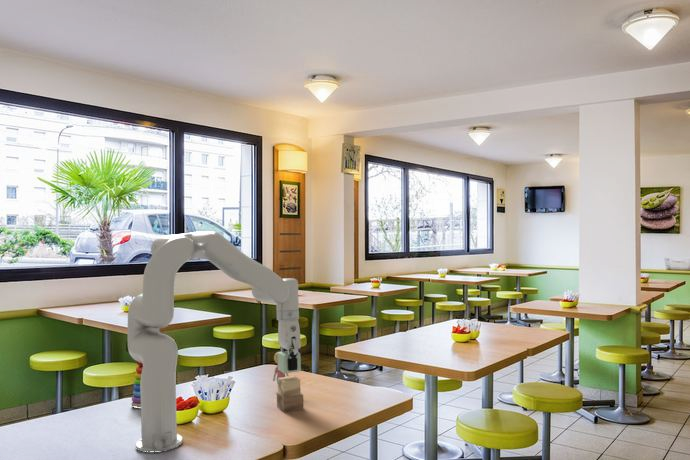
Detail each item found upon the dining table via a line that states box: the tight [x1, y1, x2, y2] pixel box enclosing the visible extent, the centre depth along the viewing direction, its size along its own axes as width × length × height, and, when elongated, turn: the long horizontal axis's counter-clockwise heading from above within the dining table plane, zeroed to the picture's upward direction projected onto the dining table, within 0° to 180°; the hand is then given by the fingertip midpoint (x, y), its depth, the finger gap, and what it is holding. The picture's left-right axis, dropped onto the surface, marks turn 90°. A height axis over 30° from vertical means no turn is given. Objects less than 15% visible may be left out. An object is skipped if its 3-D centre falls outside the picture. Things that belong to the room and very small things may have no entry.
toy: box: [272, 351, 290, 385], centre depth 208 cm, size 7×5×15 cm
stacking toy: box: [130, 360, 143, 407], centre depth 194 cm, size 8×8×19 cm
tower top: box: [277, 375, 302, 397], centre depth 188 cm, size 6×6×5 cm
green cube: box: [277, 351, 302, 374], centre depth 188 cm, size 6×6×6 cm
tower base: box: [276, 392, 305, 413], centre depth 188 cm, size 7×7×5 cm
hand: (289, 367), depth 188 cm, fingers closed on green cube, 6 cm apart
